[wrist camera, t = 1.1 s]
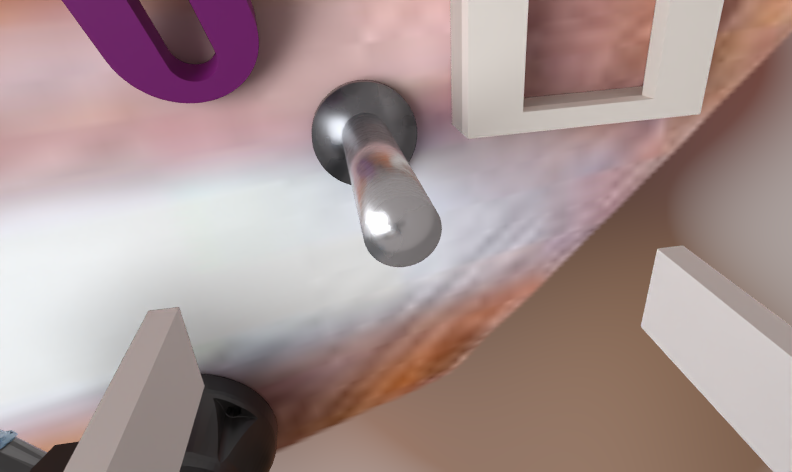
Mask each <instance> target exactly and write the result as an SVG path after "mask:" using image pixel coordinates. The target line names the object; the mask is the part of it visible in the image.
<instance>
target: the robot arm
mask: <svg viewBox="0 0 792 472" xmlns="http://www.w3.org/2000/svg"><path fill="white" fill-rule="evenodd" d="M641 327H642V329H643V330H645V332H646V333H647V334H648V335H649V336H650V337H651V338H652V340H653V341H654V342H655V343H656V344H657V345H658V346H659V347H660V348H661V349H662V350H663V352H664V353H665V354H666V355H667V356H668V357H669V358H670V359H671V360H672V361H673V363H674V364H675V365H676V366H677V367H678V368H679V369H680V370H681V371H682V372H683V373H684V375H686V377H687V378H688V379H689V380H690V381H691V382H692V383H693V384H694V385H695V387H696V388H697V389H698V390H699V391H700V392H701V393H702V394H703V395H704V396H705V398H706V399H707V400H708V401H709V402H710V403H711V404H712V405H713V406H714V407H715V408H716V410H717V411H718V412H719V413H720V414H721V415H722V416H723V417H724V418H725V419H726V420H727V422H728V423H729V424H730V425H731V426H732V427H733V428H734V429H735V430H736V431H737V433H738V434H739V435H740V436H741V437H742V438H743V439H744V440H745V441H746V442H747V444H749V446H750V447H751V448H752V449H753V450H754V451H755V452H756V453H757V454H758V456H759V457H760V458H761V459H762V460H763V461H764V462H765V463H766V464H767V465H768V467H769V468H770V469H771V470H772V471H773V472H792V326H791V325H789V324H788V323H787V322H785V321H784V320H783V319H781V318H780V317H779V316H777V315H776V314H775V313H773V312H772V311H771V310H769V309H768V308H766V307H765V306H764V305H762V304H761V303H759V302H758V301H757V300H756V299H754V298H753V297H752V296H750V295H749V294H748V293H746V292H745V291H744V290H742V289H741V288H739V287H738V286H737V285H735V284H734V283H732V282H731V281H730V280H729V279H727V278H726V277H724V276H723V275H722V274H721V273H719V272H718V271H717V270H715V269H714V268H712V267H711V266H710V265H708V264H707V263H706V262H704V261H703V260H702V259H700V258H699V257H698V256H696V255H695V254H694V253H692V252H691V251H690V250H688V249H687V248H686V247H684V246H676V247H668V248H659V249H657V253H656V258H655V263H654V267H653V272H652V277H651V281H650V286H649V291H648V295H647V300H646V305H645V310H644V315H643V319H642V324H641ZM17 435H18V434H17V433H16V432H14V431H12V430H11V431H3V430H0V472H269V470H270V468H271V466H272V464H273V461H274V458H275V454H276V446H277V422H276V418H275V416H274V413H273V411H272V410H271V408H270V406H269V405H268V404H267V403H266V401H265V400H264V399H263V398H262V397H261V396H260V395H258V394H257V393H256V392H254V391H253V390H252V389H250V388H248V387H246V386H245V385H243V384H241V383H238V382H236V381H233V380H230V379H227V378H223V377H218V376H212V375H201V374H200V370H199V367H198V364H197V361H196V358H195V355H194V352H193V349H192V346H191V343H190V340H189V336H188V333H187V330H186V327H185V324H184V321H183V318H182V315H181V312H180V309H179V307H175V308H167V309H159V310H151V311H148V313H147V315H146V316H145V318H144V320H143V322H142V324H141V326H140V328H139V330H138V332H137V333H136V335H135V337H134V339H133V341H132V343H131V345H130V347H129V349H128V350H127V352H126V354H125V356H124V358H123V360H122V362H121V364H120V366H119V367H118V369H117V371H116V373H115V375H114V377H113V379H112V381H111V383H110V384H109V386H108V388H107V390H106V392H105V394H104V396H103V398H102V400H101V402H100V403H99V405H98V407H97V409H96V411H95V413H94V415H93V417H92V419H91V420H90V422H89V424H88V426H87V428H86V430H85V432H84V434H83V436H82V437H81V439H80V441H79V442H74V443H67V444H60V445H55V446H54V447H53V448H52V449H51V450H50V451H49V452H48V453H47V452H45V451H43V450H41V449H39V448H37V447H35V446H33V445H31V444H29V443H27V442H25V441H23V440H21V439H19V438H17V437H16V436H17Z"/></svg>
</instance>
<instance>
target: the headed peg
mask: <svg viewBox="0 0 792 472" xmlns="http://www.w3.org/2000/svg"><path fill="white" fill-rule="evenodd" d="M416 141H417V126H416V121H415V118H414V115H413V112H412V110H411V109H410V107H409V105H408V104H407V102H406V101H405V100H404V99H403V98H402V97H401V96H400V95H399V94H398V93H397V92H396V91H395V90H393V89H392V88H390V87H389V86H387V85H385V84H382V83H380V82H376V81H371V80H357V81H351V82H348V83H345V84H343V85H341V86H339V87H337V88H335V89H334V90H332V91H331V92H330V93H329V94H328V95H327V96H326V97H325V98H324V99H323V100H322V102H321V103H320V105H319V106H318V108H317V110H316V113H315V116H314V118H313V124H312V143H313V148H314V151H315V154H316V156H317V158H318V160H319V162H320V163H321V165H322V166H323V167H324V169H325V170H326V171H327V172H328V173H329V174H331V175H332V176H333V177H335V178H336V179H338V180H340V181H342V182H344V183H347V184H350V185H352V188H353V193H354V197H355V202H356V206H357V211H358V215H359V220H360V224H361V229H362V233H363V238H364V242H365V245H366V247H367V249H368V251H369V252H370V254H371V255H372V256H373V257H374V258H375V259H376V260H378V261H379V262H381V263H383V264H385V265H389V266H393V267H406V266H411V265H414V264H416V263H419V262H421V261H422V260H424V259H425V258H427V257H428V256H429V255H430V254H431V253H432V252H433V251H434V249H435V248H436V246H437V244H438V242H439V240H440V237H441V230H442V226H441V220H440V217H439V215H438V213H437V211H436V209H435V208H434V206H433V204H432V203H431V201H430V199H429V197H428V196H427V194H426V192H425V191H424V189H423V187H422V185H421V184H420V182H419V180H418V179H417V177H416V175H415V174H414V172H413V170H412V168H411V167H410V165H409V163H408V162H409V160H410V159H411V157H412V155H413V152H414V150H415V146H416Z"/></svg>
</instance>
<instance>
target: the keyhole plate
mask: <svg viewBox="0 0 792 472" xmlns="http://www.w3.org/2000/svg"><path fill="white" fill-rule="evenodd" d="M528 1H529V0H450V26H451V100H452V125H453V126H454V127H455V128H456V129H458V130H459V131H460V132H461V133H462V134H463V135H464V136H465V137H466V138H467V139H473V138H483V137H492V136H501V135H510V134H520V133H529V132H538V131H548V130H557V129H566V128H575V127H585V126H594V125H603V124H613V123H622V122H631V121H640V120H650V119H659V118H668V117H677V116H687V115H696V114H700V113H701V108H702V103H703V98H704V93H705V89H706V84H707V79H708V74H709V70H710V65H711V60H712V55H713V51H714V46H715V41H716V36H717V31H718V27H719V22H720V17H721V12H722V8H723V3H724V0H656V4H655V11H654V17H653V23H652V30H651V36H650V43H649V49H648V56H647V62H646V69H645V75H644V82H643V86H639V87H629V88H619V89H609V90H599V91H589V92H579V93H569V94H559V95H549V96H539V97H528V98H524V81H525V61H526V41H527V21H528Z"/></svg>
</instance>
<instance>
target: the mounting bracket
mask: <svg viewBox="0 0 792 472" xmlns="http://www.w3.org/2000/svg"><path fill="white" fill-rule="evenodd" d="M62 1H63V3H64V4H65V5H66V7H67V8H68V9H69V11H70V12H71V14H72V15H73V16H74V18H75V19H76V20H77V22H78V23H79V25H80V26H81V27H82V29H83V30H84V31H85V33H86V34H87V36H88V37H89V38H90V40H91V41H92V42H93V44H94V45H95V47H96V48H97V49H98V51H99V52H100V53H101V55H102V56H103V58H104V59H105V60H106V62H107V63H108V64H109V65H110V67H111V68H112V69H113V70H114V71H115V72H116V73H117V74H118V75H119V76H120V77H122V78H123V79H124V80H125V81H127V82H128V83H129V84H131V85H132V86H134V87H135V88H137V89H139V90H141V91H143V92H145V93H147V94H149V95H151V96H154V97H157V98H160V99H163V100H167V101H172V102H178V103H201V102H207V101H211V100H215V99H218V98H221V97H223V96H225V95H227V94H229V93H231V92H232V91H234V90H235V89H237V88H238V87H239V86H240V85H241V84H242V83H243V82H244V81H245V80H246V79H247V77H248V76H249V75H250V73H251V71H252V69H253V68H254V65H255V63H256V59H257V55H258V49H259V38H258V30H257V24H256V18H255V13H254V9H253V6H252V3H251V0H189V2H190V4H191V5H192V7H193V9H194V11H195V13H196V15H197V17H198V19H199V21H200V23H201V25H202V27H203V29H204V31H205V33H206V35H207V37H208V39H209V41H210V42H211V44H212V46H213V48H214V50H215V52H216V53H215V55H214V56H213V58H212V59H211V60H209V61H208V62H205V63H203V64H188V63H184V62H182V61H180V60H178V59H177V58H175V57H174V56H173V55H172V54H171V53H170V51H169V50H168V48H167V46H166V45H165V43H164V41H163V40H162V38H161V36H160V35H159V33H158V31H157V30H156V28H155V26H154V25H153V23H152V21H151V20H150V18H149V16H148V15H147V13H146V11H145V10H144V8H143V6H142V5H141V3H140V1H139V0H62Z"/></svg>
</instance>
